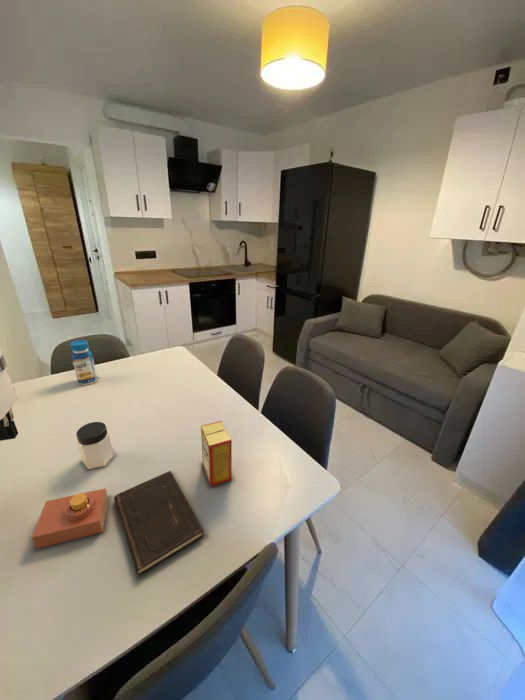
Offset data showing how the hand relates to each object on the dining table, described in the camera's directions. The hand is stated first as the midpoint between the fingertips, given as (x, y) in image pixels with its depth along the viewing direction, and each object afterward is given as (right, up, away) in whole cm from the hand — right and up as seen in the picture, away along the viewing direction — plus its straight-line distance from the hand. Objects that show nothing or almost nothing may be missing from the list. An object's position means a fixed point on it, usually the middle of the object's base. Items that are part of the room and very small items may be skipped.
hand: (9, 437), depth 67 cm
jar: (+5, -16, +28) cm, 32 cm away
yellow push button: (+12, -19, +6) cm, 24 cm away
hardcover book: (+31, -25, +10) cm, 41 cm away
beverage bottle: (-25, +5, +72) cm, 76 cm away
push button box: (+10, -24, +8) cm, 28 cm away
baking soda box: (+44, -19, +25) cm, 54 cm away
